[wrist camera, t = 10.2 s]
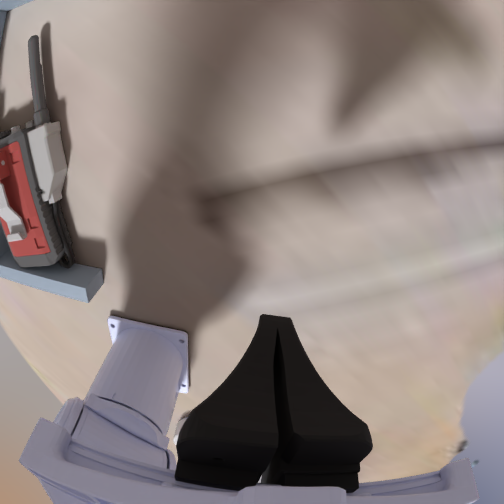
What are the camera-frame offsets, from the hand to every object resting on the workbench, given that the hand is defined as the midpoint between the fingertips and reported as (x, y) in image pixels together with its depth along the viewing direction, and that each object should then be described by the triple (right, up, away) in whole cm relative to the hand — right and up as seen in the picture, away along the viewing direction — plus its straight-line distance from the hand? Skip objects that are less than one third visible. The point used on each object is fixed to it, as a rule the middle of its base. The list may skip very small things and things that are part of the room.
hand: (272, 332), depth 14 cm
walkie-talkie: (-20, +12, +7) cm, 24 cm away
